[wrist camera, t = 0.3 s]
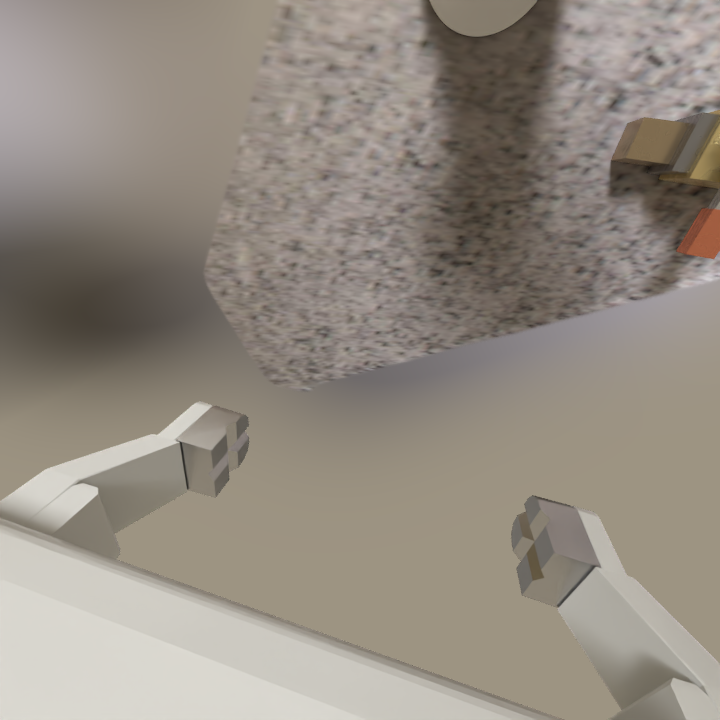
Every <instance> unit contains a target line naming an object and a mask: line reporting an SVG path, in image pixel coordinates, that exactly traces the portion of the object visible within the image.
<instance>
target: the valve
mask: <svg viewBox="0 0 720 720" xmlns="http://www.w3.org/2000/svg"><path fill="white" fill-rule="evenodd" d="M611 161H617V162H624V163H630V164H637V165H644V166H650V167H649V169H648V171H647V173H651V174H657V175H660V177H659V179H658V180H664V181H671V182H677V183H684V184H690V185H697V186H703V187H710V188H716V189H719V188H720V110H717V111H714V112H711V113H700V114H697V115H693V116H690V117H687V118H683V119H680V120H677V121H668V120H661V119H653V118H645V117H644V118H641V119H639V120H636V121H633V122H630V123H628V124H627V126H626V128H625V130H624V132H623V135H622V137H621V139H620V141H619V144H618V146H617V148H616V150H615V153H614V155H613V157H612V159H611Z"/></svg>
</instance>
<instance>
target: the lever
mask: <svg viewBox="0 0 720 720" xmlns="http://www.w3.org/2000/svg"><path fill="white" fill-rule="evenodd" d="M719 251H720V188H719V190H718V191H717V193H716V195H715V196H714V198H713V200H712V201H711V203H710V205H709V206H708V208H702V209H701V211H700V212H699V214H698V216H697V217H696V219H695V221H694V222H693V224H692V226H691V227H690V229H689V231H688V232H687V234H686V236H685V237H684V239H683V241H682V242H681V244H680V246H679V247H678V249H677V251H676V252H680V253H684V254H688V255H694V256H700V257H705V258H711V259H714V258H715V257H716V255H717V254H718V252H719Z"/></svg>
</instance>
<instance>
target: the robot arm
mask: <svg viewBox="0 0 720 720" xmlns="http://www.w3.org/2000/svg"><path fill="white" fill-rule="evenodd" d="M537 1H538V0H430V3H431V5H432V7H433V9H434V11H435V12H436V14H437V16H438V17H439V18H440V19H441V21H442V22H443V23H444V24H445V25H446V26H448V27H449V28H450V29H452V30H453V31H455V32H457V33H460V34H462V35H466V36H473V37H481V36H487V35H491V34H495V33H497V32H500V31H502V30H504V29H506V28H508V27H509V26H511V25H512V24H514V23H515V22H517V21H518V20H519V19H520V18H521V17H523V16H524V15H525V14H526V13H527V12H528V11H529V10H530V9H531V8H532V7H533V6H534V4H535V3H536V2H537ZM248 426H249V421H248V417H247V416H246V415H244V414H241V413H237V412H234V411H231V410H228V409H224V408H221V407H218V406H213V405H210V404H207V403H204V402H197V403H195V404H193V405H192V406H191V407H190V408H189V409H188V410H186V411H185V412H184V413H183V414H182V415H181V416H179V417H178V418H177V419H176V420H175V421H173V422H172V423H171V424H170V425H169V426H168V427H166V428H165V429H164V430H163V431H162V432H161V433H159V434H158V435H154V434H151V435H148V436H145V437H142V438H139V439H136V440H133V441H130V442H127V443H124V444H121V445H117V446H115V447H112V448H108V449H105V450H102V451H99V452H97V453H93V454H90V455H87V456H85V457H81V458H78V459H75V460H72V461H69V462H66V463H63V464H60V465H57V466H54V467H51V468H48V469H46V470H44V471H43V472H42V473H40V474H38V475H37V476H36V477H34V478H33V479H31V480H30V481H28V482H27V483H26V484H24V485H23V486H21V487H20V488H19V489H17V490H16V491H14V492H13V493H11V494H10V495H9V496H7V497H6V498H4V499H3V500H1V501H0V720H564V719H561V718H557V717H555V716H552V715H549V714H547V713H544V712H541V711H538V710H536V709H533V708H530V707H527V706H524V705H522V704H519V703H516V702H513V701H510V700H508V699H505V698H502V697H499V696H496V695H494V694H491V693H488V692H485V691H482V690H480V689H477V688H474V687H471V686H469V685H466V684H463V683H460V682H458V681H455V680H452V679H449V678H446V677H443V676H441V675H438V674H435V673H432V672H430V671H427V670H424V669H421V668H418V667H416V666H413V665H410V664H407V663H404V662H402V661H399V660H396V659H393V658H390V657H387V656H385V655H382V654H379V653H376V652H374V651H371V650H368V649H365V648H363V647H360V646H357V645H354V644H351V643H349V642H346V641H343V640H340V639H337V638H335V637H332V636H329V635H326V634H324V633H321V632H318V631H315V630H312V629H309V628H307V627H304V626H301V625H298V624H296V623H293V622H290V621H287V620H284V619H281V618H279V617H276V616H273V615H270V614H268V613H265V612H262V611H259V610H256V609H254V608H251V607H248V606H245V605H243V604H240V603H237V602H234V601H231V600H228V599H226V598H223V597H220V596H217V595H214V594H212V593H209V592H206V591H203V590H201V589H198V588H195V587H192V586H189V585H187V584H184V583H181V582H178V581H175V580H173V579H170V578H167V577H164V576H162V575H159V574H156V573H153V572H150V571H148V570H145V569H141V568H139V567H136V566H133V565H131V564H128V563H125V562H122V561H120V560H117V559H116V558H118V556H119V555H120V547H119V545H118V542H117V539H116V536H115V533H117V532H118V531H120V530H122V529H124V528H125V527H127V526H129V525H130V524H132V523H134V522H136V521H138V520H139V519H141V518H143V517H144V516H146V515H148V514H150V513H151V512H153V511H155V510H156V509H158V508H160V507H162V506H163V505H165V504H167V503H169V502H170V501H172V500H174V499H176V498H177V497H179V496H181V495H183V494H184V493H186V492H187V490H190V491H193V492H197V493H200V494H204V495H207V496H211V497H214V498H216V497H217V495H218V494H219V493H220V491H221V490H222V489H223V487H224V486H225V485H226V483H227V482H228V481H229V472H230V471H232V470H234V469H236V468H238V467H239V465H240V464H241V463H242V461H243V460H244V458H245V456H246V453H247V451H248V446H249V436H248V435H247V433H246V432H245V430H246V429H247V427H248ZM525 509H526V512H524V513H521V514H519V515H517V517H516V519H515V521H514V523H513V528H512V534H511V535H512V547H513V551H514V553H515V554H516V555H517V557H518V558H519V559H520V561H521V562H520V564H519V565H518V567H517V573H518V578H519V583H520V588H521V593H522V596H525V597H528V598H531V599H534V600H537V601H540V602H543V603H545V604H548V605H551V606H554V607H557V608H558V609H557V610H558V612H559V613H560V615H561V616H562V618H563V619H564V621H565V623H566V624H567V626H568V627H569V629H570V630H571V632H572V633H573V635H574V637H575V638H576V640H577V641H578V643H579V644H580V646H581V647H582V649H583V650H584V652H585V653H586V655H587V657H588V658H589V660H590V661H591V663H592V664H593V666H594V668H595V669H596V671H597V672H598V674H599V675H600V677H601V679H602V680H603V682H604V683H605V685H606V686H607V688H608V690H609V691H610V693H611V694H612V696H613V697H614V699H615V700H616V702H617V703H618V705H619V707H620V708H621V710H622V711H620V712H618V713H617V714H615V715H614V716H612V717H611V718H609V719H607V720H720V664H719V663H718V662H717V661H716V660H715V659H714V658H713V657H712V656H711V655H710V654H709V653H708V652H707V651H706V650H705V649H704V648H703V647H702V646H701V645H700V644H699V643H698V642H697V641H696V640H695V639H694V638H693V637H692V636H691V635H690V634H689V633H688V632H687V631H686V630H685V629H684V628H683V627H682V626H681V625H680V624H679V623H678V622H677V621H676V620H675V619H674V618H673V617H672V616H671V615H670V614H669V613H668V612H667V611H666V610H665V609H664V608H663V607H662V606H661V605H660V604H659V603H658V602H657V601H656V600H655V599H654V598H653V597H652V596H651V595H650V594H649V593H648V592H647V591H646V590H645V589H644V588H643V587H642V586H641V585H640V584H639V583H638V582H637V581H636V580H635V579H634V578H631V577H629V576H627V575H626V573H625V571H624V568H623V566H622V564H621V562H620V560H619V558H618V556H617V554H616V552H615V550H614V548H613V546H612V543H611V542H610V539H609V537H608V535H607V533H606V531H605V529H604V527H603V525H602V523H601V521H600V518H599V517H598V515H597V514H596V513H595V512H593V511H589V510H586V509H582V508H578V507H574V506H570V505H567V504H563V503H559V502H555V501H552V500H548V499H545V498H541V497H537V496H531V497H529V498H528V499H527V501H526V503H525Z"/></svg>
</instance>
